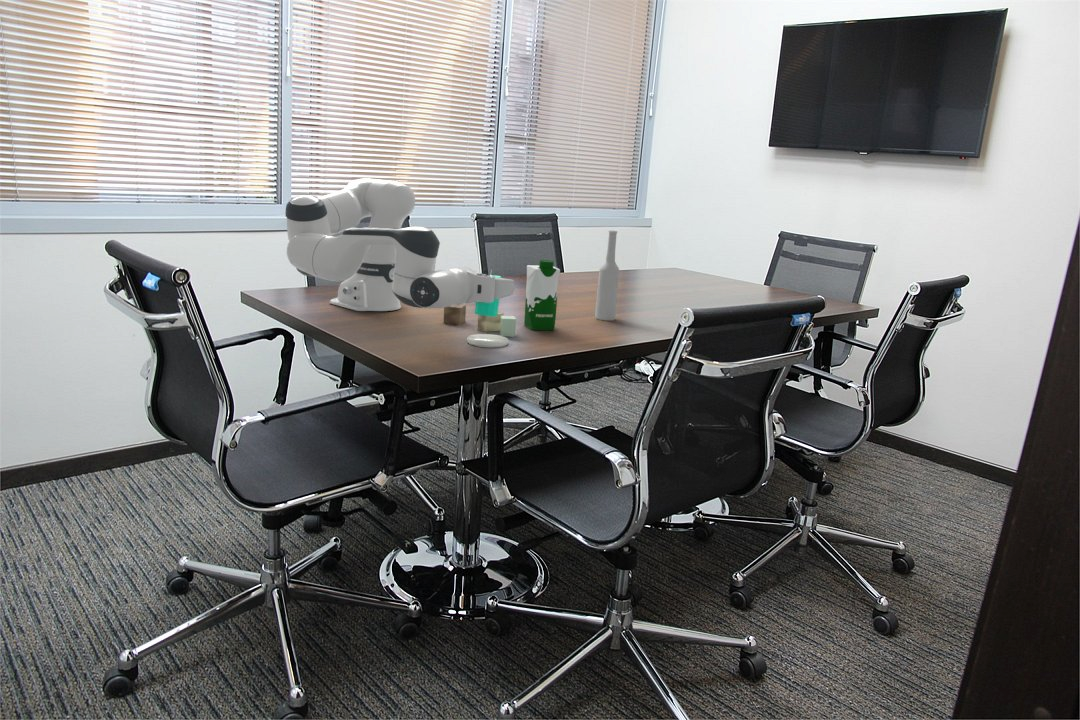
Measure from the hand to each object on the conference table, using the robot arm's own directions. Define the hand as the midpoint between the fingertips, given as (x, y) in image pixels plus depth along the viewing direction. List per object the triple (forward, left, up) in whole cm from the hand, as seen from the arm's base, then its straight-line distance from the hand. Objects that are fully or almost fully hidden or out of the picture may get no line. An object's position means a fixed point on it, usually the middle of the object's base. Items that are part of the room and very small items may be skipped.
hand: (492, 279), depth 199 cm
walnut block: (-21, +14, -17) cm, 30 cm away
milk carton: (+1, +26, -17) cm, 31 cm away
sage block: (-1, +11, -17) cm, 20 cm away
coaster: (0, -1, -17) cm, 17 cm away
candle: (0, -2, -9) cm, 9 cm away
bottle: (+10, +54, -17) cm, 58 cm away
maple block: (-8, +13, -17) cm, 23 cm away
